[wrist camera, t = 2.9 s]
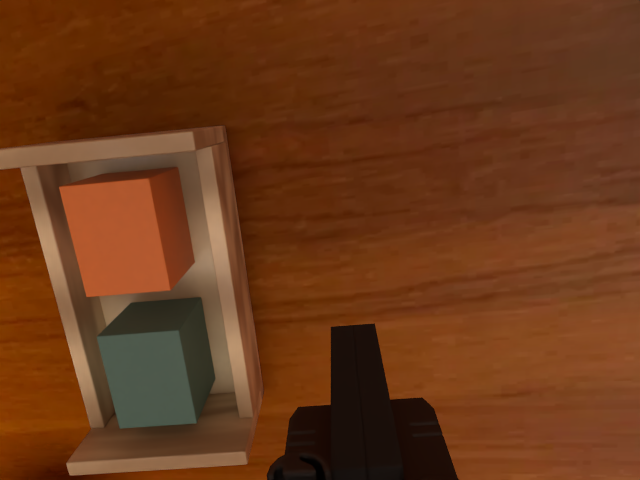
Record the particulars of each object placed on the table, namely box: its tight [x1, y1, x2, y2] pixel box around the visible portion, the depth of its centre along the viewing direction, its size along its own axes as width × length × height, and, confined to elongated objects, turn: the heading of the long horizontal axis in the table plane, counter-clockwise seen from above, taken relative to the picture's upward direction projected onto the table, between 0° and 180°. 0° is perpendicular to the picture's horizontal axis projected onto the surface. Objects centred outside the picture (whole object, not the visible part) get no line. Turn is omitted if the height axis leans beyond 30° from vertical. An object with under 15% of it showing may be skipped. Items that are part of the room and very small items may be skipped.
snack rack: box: [0, 125, 264, 476], centre depth 23 cm, size 16×9×6 cm, turn 5°
